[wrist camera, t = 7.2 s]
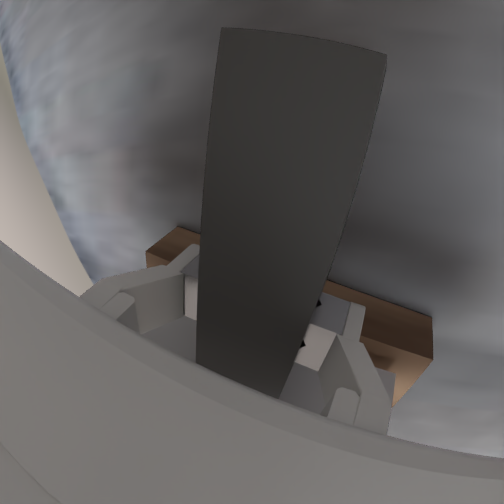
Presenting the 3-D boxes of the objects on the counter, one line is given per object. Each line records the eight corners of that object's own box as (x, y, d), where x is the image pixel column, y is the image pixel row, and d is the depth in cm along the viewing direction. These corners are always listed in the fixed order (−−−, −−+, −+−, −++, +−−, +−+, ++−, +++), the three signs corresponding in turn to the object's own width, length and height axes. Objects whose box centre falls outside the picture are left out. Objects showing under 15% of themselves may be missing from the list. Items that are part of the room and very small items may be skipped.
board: (177, 226, 18) (145, 251, 16) (431, 317, 15) (433, 359, 12) (180, 352, 25) (160, 377, 23) (352, 422, 21) (343, 454, 19)
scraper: (163, 38, 9) (45, 40, 5) (521, 127, 6) (616, 176, 2) (158, 298, 16) (96, 362, 12) (384, 388, 13) (363, 484, 9)
